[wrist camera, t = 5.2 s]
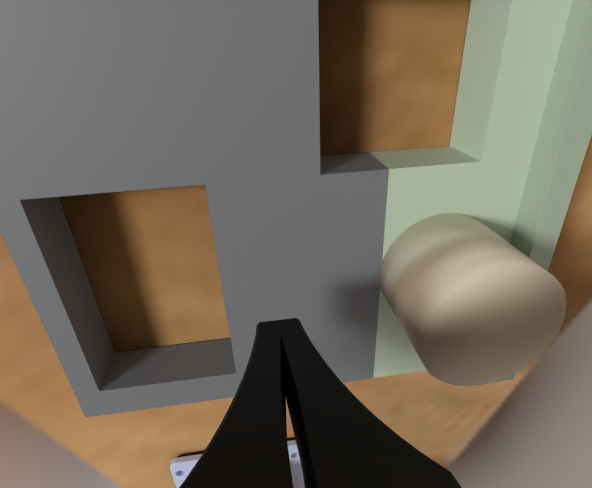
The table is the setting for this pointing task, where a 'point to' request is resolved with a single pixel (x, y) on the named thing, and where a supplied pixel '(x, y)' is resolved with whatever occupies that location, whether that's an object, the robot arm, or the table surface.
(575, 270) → the table surface
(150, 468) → the table surface
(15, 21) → the trap deck
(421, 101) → the table surface
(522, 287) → the beige rounded cylinder
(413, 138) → the table surface
